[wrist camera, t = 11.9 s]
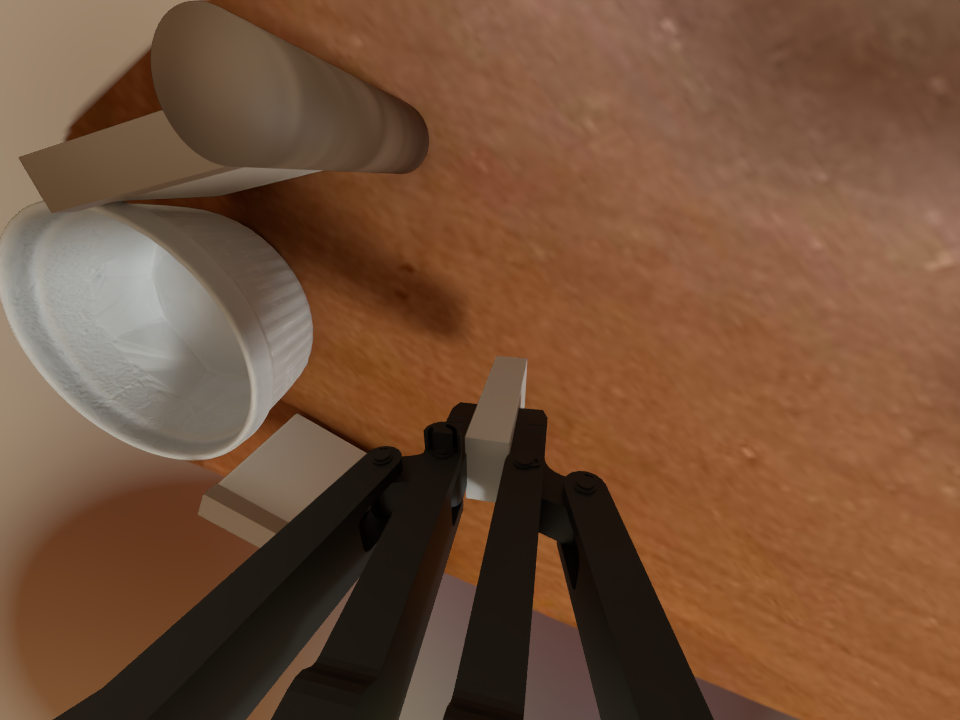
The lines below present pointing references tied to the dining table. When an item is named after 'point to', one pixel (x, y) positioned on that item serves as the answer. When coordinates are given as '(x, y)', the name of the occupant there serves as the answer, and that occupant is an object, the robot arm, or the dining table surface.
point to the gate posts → (274, 100)
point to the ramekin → (156, 321)
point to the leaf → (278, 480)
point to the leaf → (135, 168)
